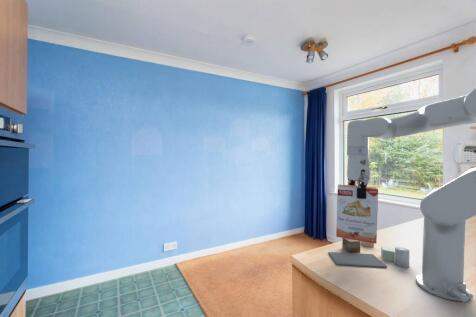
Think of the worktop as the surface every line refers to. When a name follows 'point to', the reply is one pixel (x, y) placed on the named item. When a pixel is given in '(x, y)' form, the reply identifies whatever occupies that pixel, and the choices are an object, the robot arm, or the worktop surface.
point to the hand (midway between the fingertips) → (356, 196)
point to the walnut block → (351, 245)
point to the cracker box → (357, 214)
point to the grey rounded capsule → (402, 257)
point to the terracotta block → (367, 244)
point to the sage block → (388, 253)
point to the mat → (356, 259)
